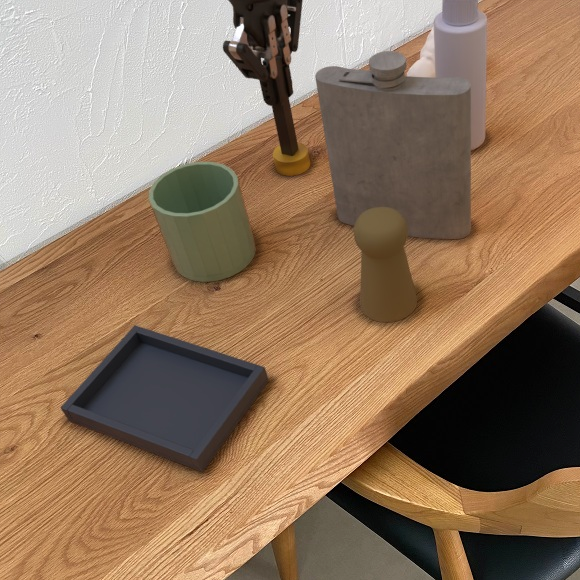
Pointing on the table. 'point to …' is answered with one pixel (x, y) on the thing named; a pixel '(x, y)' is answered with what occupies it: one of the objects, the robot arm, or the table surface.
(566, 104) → the table surface
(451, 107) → the hip flask
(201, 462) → the tray
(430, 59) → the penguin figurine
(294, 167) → the brush
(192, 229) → the beaker
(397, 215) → the peg doll figure
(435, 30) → the spray bottle
